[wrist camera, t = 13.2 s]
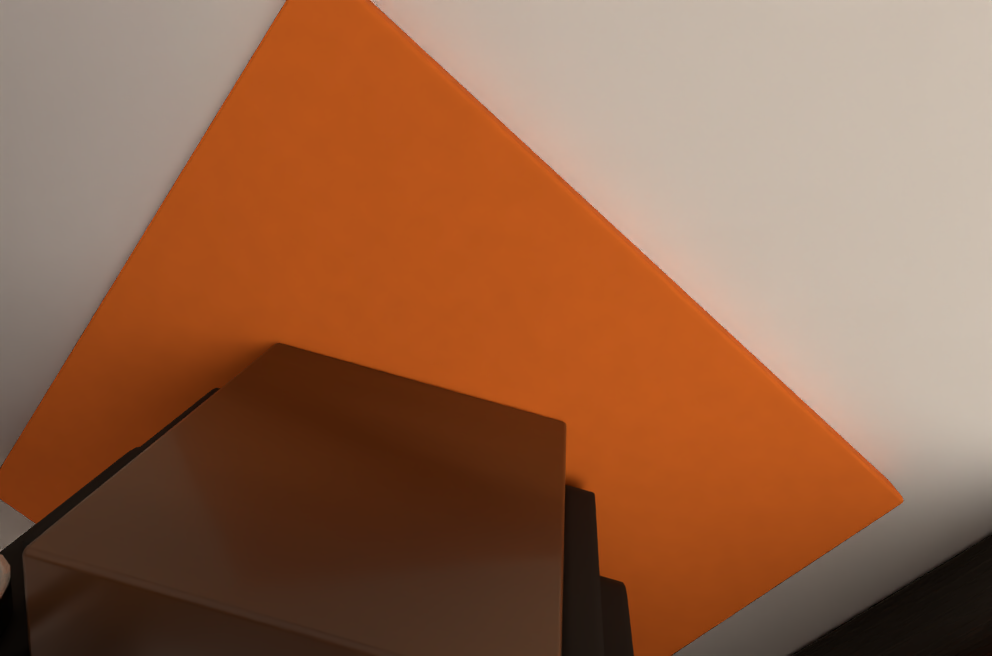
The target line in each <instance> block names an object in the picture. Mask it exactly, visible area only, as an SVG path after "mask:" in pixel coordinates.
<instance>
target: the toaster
mask: <svg viewBox="0 0 992 656" xmlns="http://www.w3.org/2000/svg"><path fill="white" fill-rule="evenodd" d="M792 656H992V535H991V536H989V537H987V538H986V539H984V540H982V541H981V542H979V543H977V544H976V545H974V546H972V547H971V548H969V549H967V550H966V551H964V552H962V553H961V554H959V555H958V556H956V557H954V558H953V559H951V560H949V561H948V562H946V563H944V564H943V565H941V566H939V567H938V568H936V569H934V570H933V571H931V572H929V573H928V574H926V575H924V576H923V577H921V578H920V579H918V580H916V581H915V582H913V583H911V584H910V585H908V586H906V587H905V588H903V589H901V590H900V591H898V592H896V593H895V594H893V595H891V596H890V597H888V598H886V599H885V600H883V601H882V602H880V603H878V604H877V605H875V606H873V607H872V608H870V609H868V610H867V611H865V612H863V613H862V614H860V615H858V616H857V617H855V618H853V619H852V620H850V621H848V622H847V623H845V624H844V625H842V626H840V627H839V628H837V629H835V630H834V631H832V632H830V633H829V634H827V635H825V636H824V637H822V638H820V639H819V640H817V641H815V642H814V643H812V644H810V645H809V646H807V647H806V648H804V649H802V650H801V651H799V652H797V653H796V654H794V655H792Z"/></svg>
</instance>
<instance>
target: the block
mask: <svg viewBox="0 0 992 656" xmlns="http://www.w3.org/2000/svg"><path fill="white" fill-rule="evenodd" d="M565 472H566V423H565V422H563V421H559V420H556V419H552V418H548V417H545V416H541V415H538V414H534V413H530V412H527V411H523V410H520V409H516V408H512V407H509V406H505V405H502V404H498V403H494V402H491V401H487V400H484V399H480V398H476V397H473V396H469V395H466V394H462V393H458V392H455V391H451V390H448V389H444V388H440V387H437V386H433V385H430V384H426V383H422V382H419V381H415V380H412V379H408V378H404V377H401V376H397V375H393V374H390V373H386V372H383V371H379V370H375V369H372V368H368V367H365V366H361V365H357V364H354V363H350V362H347V361H343V360H339V359H336V358H332V357H329V356H325V355H321V354H318V353H314V352H311V351H307V350H303V349H300V348H296V347H293V346H289V345H285V344H282V343H276V344H274V345H273V346H272V347H271V348H269V349H268V350H267V351H266V352H265V353H263V354H262V355H261V356H260V357H258V358H257V359H256V360H255V361H253V362H252V363H251V364H250V365H249V366H247V367H246V368H245V369H244V370H242V371H241V372H240V373H239V374H237V375H236V376H235V377H234V378H233V379H231V380H230V381H229V382H228V383H226V384H225V385H224V386H223V387H222V388H220V389H219V390H218V391H217V392H215V393H214V394H213V395H212V396H210V397H209V398H208V399H207V400H206V401H204V402H203V403H202V404H201V405H199V406H198V407H197V408H196V409H194V410H193V411H192V412H191V413H190V414H188V415H187V416H186V417H185V418H183V419H182V420H181V421H180V422H179V423H177V424H176V425H175V426H174V427H172V428H171V429H170V430H169V431H167V432H166V433H165V434H164V435H163V436H161V437H160V438H159V439H158V440H156V441H155V442H154V443H153V444H151V445H150V446H149V447H148V448H147V449H145V450H144V451H143V452H142V453H140V454H139V455H138V456H137V457H136V458H134V459H133V460H132V461H131V462H129V463H128V464H127V465H126V466H124V467H123V468H122V469H121V470H120V471H118V472H117V473H116V474H115V475H113V476H112V477H111V478H110V479H108V480H107V481H106V482H105V483H104V484H102V485H101V486H100V487H99V488H97V489H96V490H95V491H94V492H93V493H91V494H90V495H89V496H88V497H86V498H85V499H84V500H83V501H81V502H80V503H79V504H78V505H77V506H75V507H74V508H73V509H72V510H70V511H69V512H68V513H67V514H65V515H64V516H63V517H62V518H61V519H59V520H58V521H57V522H56V523H54V524H53V525H52V526H51V527H50V528H48V529H47V530H46V531H45V532H43V533H42V534H41V535H40V536H38V537H37V538H36V539H35V540H34V541H32V542H31V543H30V544H29V545H27V546H26V548H25V549H24V551H23V553H22V560H23V573H24V587H25V600H26V614H27V628H28V641H29V655H30V656H562V614H563V566H564V519H565Z"/></svg>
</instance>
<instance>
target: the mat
mask: <svg viewBox="0 0 992 656" xmlns="http://www.w3.org/2000/svg"><path fill="white" fill-rule="evenodd" d="M276 343H282V344H285V345H289V346H293V347H296V348H300V349H303V350H307V351H311V352H314V353H318V354H321V355H325V356H329V357H332V358H336V359H339V360H343V361H347V362H350V363H354V364H357V365H361V366H365V367H368V368H372V369H375V370H379V371H383V372H386V373H390V374H393V375H397V376H401V377H404V378H408V379H412V380H415V381H419V382H422V383H426V384H430V385H433V386H437V387H440V388H444V389H448V390H451V391H455V392H458V393H462V394H466V395H469V396H473V397H476V398H480V399H484V400H487V401H491V402H494V403H498V404H502V405H505V406H509V407H512V408H516V409H520V410H523V411H527V412H530V413H534V414H538V415H541V416H545V417H548V418H552V419H556V420H559V421H563V422H565V423H566V472H565V485H569V486H573V487H576V488H580V489H583V490H587V491H591V492H593V493H594V494H595V503H596V520H597V537H598V554H599V571H600V576H603V577H607V578H610V579H614V580H617V581H621V582H623V583H624V585H625V586H626V591H627V598H628V607H629V615H630V624H631V633H632V642H633V651H634V656H671V655H673V654H674V653H676V652H677V651H679V650H680V649H682V648H683V647H685V646H687V645H688V644H690V643H691V642H693V641H694V640H696V639H697V638H699V637H700V636H702V635H703V634H705V633H706V632H708V631H709V630H711V629H712V628H714V627H715V626H717V625H718V624H720V623H721V622H723V621H724V620H726V619H727V618H729V617H730V616H732V615H733V614H735V613H736V612H738V611H739V610H741V609H743V608H744V607H746V606H747V605H749V604H750V603H752V602H753V601H755V600H756V599H758V598H759V597H761V596H762V595H764V594H765V593H767V592H768V591H770V590H771V589H773V588H774V587H776V586H777V585H779V584H780V583H782V582H783V581H785V580H786V579H788V578H789V577H791V576H792V575H794V574H795V573H797V572H798V571H800V570H802V569H803V568H805V567H806V566H808V565H809V564H811V563H812V562H814V561H815V560H817V559H818V558H820V557H821V556H823V555H824V554H826V553H827V552H829V551H830V550H832V549H833V548H835V547H836V546H838V545H839V544H841V543H842V542H844V541H845V540H847V539H848V538H850V537H851V536H853V535H854V534H856V533H858V532H859V531H861V530H862V529H864V528H865V527H867V526H868V525H870V524H871V523H873V522H874V521H876V520H877V519H879V518H880V517H882V516H883V515H885V514H886V513H888V512H889V511H891V510H892V509H894V508H895V507H897V506H898V505H900V504H901V503H902V502H903V498H902V496H901V495H900V493H899V492H898V491H897V490H896V489H895V487H894V486H893V485H892V484H891V483H890V481H889V480H888V479H887V478H886V477H884V476H883V475H882V474H881V473H880V472H879V471H878V470H877V469H876V468H875V467H874V466H873V465H872V464H870V463H869V462H868V461H867V460H866V459H865V458H864V457H863V456H862V455H861V454H860V453H859V452H857V451H856V450H855V449H854V448H853V447H852V446H851V445H850V444H849V443H848V442H847V441H846V440H844V439H843V438H842V437H841V436H840V435H839V434H838V433H837V432H836V431H835V430H834V429H833V428H832V427H830V426H829V425H828V424H827V423H826V422H825V421H824V420H823V419H822V418H821V417H820V416H819V415H817V414H816V413H815V412H814V411H813V410H812V409H811V408H810V407H809V406H808V405H807V404H806V403H804V402H803V401H802V400H801V399H800V398H799V397H798V396H797V395H796V394H795V393H794V392H793V391H792V390H790V389H789V388H788V387H787V386H786V385H785V384H784V383H783V382H782V381H781V380H780V379H779V378H777V377H776V376H775V375H774V374H773V373H772V372H771V371H770V370H769V369H768V368H767V367H766V366H764V365H763V364H762V363H761V362H760V361H759V360H758V359H757V358H756V357H755V356H754V355H753V354H752V353H750V352H749V351H748V350H747V349H746V348H745V347H744V346H743V345H742V344H741V343H740V342H739V341H737V340H736V339H735V338H734V337H733V336H732V335H731V334H730V333H729V332H728V331H727V330H726V329H724V328H723V327H722V326H721V325H720V324H719V323H718V322H717V321H716V320H715V319H714V318H713V317H712V316H710V315H709V314H708V313H707V312H706V311H705V310H704V309H703V308H702V307H701V306H700V305H699V304H697V303H696V302H695V301H694V300H693V299H692V298H691V297H690V296H689V295H688V294H687V293H686V292H684V291H683V290H682V289H681V288H680V287H679V286H678V285H677V284H676V283H675V282H674V281H673V280H672V279H670V278H669V277H668V276H667V275H666V274H665V273H664V272H663V271H662V270H661V269H660V268H659V267H657V266H656V265H655V264H654V263H653V262H652V261H651V260H650V259H649V258H648V257H647V256H646V255H645V254H643V253H642V252H641V251H640V250H639V249H638V248H637V247H636V246H635V245H634V244H633V243H632V242H630V241H629V240H628V239H627V238H626V237H625V236H624V235H623V234H622V233H621V232H620V231H619V230H617V229H616V228H615V227H614V226H613V225H612V224H611V223H610V222H609V221H608V220H607V219H606V218H605V217H603V216H602V215H601V214H600V213H599V212H598V211H597V210H596V209H595V208H594V207H593V206H592V205H590V204H589V203H588V202H587V201H586V200H585V199H584V198H583V197H582V196H581V195H580V194H579V193H577V192H576V191H575V190H574V189H573V188H572V187H571V186H570V185H569V184H568V183H567V182H566V181H565V180H563V179H562V178H561V177H560V176H559V175H558V174H557V173H556V172H555V171H554V170H553V169H552V168H550V167H549V166H548V165H547V164H546V163H545V162H544V161H543V160H542V159H541V158H540V157H539V156H537V155H536V154H535V153H534V152H533V151H532V150H531V149H530V148H529V147H528V146H527V145H526V144H525V143H523V142H522V141H521V140H520V139H519V138H518V137H517V136H516V135H515V134H514V133H513V132H512V131H510V130H509V129H508V128H507V127H506V126H505V125H504V124H503V123H502V122H501V121H500V120H499V119H497V118H496V117H495V116H494V115H493V114H492V113H491V112H490V111H489V110H488V109H487V108H486V107H485V106H483V105H482V104H481V103H480V102H479V101H478V100H477V99H476V98H475V97H474V96H473V95H472V94H470V93H469V92H468V91H467V90H466V89H465V88H464V87H463V86H462V85H461V84H460V83H459V82H457V81H456V80H455V79H454V78H453V77H452V76H451V75H450V74H449V73H448V72H447V71H446V70H445V69H443V68H442V67H441V66H440V65H439V64H438V63H437V62H436V61H435V60H434V59H433V58H432V57H430V56H429V55H428V54H427V53H426V52H425V51H424V50H423V49H422V48H421V47H420V46H419V45H418V44H416V43H415V42H414V41H413V40H412V39H411V38H410V37H409V36H408V35H407V34H406V33H405V32H403V31H402V30H401V29H400V28H399V27H398V26H397V25H396V24H395V23H394V22H393V21H392V20H390V19H389V18H388V17H387V16H386V15H385V14H384V13H383V12H382V11H381V10H380V9H379V8H378V7H376V6H375V5H374V4H373V3H372V2H371V1H370V0H286V2H285V4H284V5H283V7H282V8H281V10H280V12H279V13H278V15H277V17H276V18H275V20H274V22H273V23H272V25H271V26H270V28H269V30H268V31H267V33H266V35H265V36H264V38H263V39H262V41H261V43H260V44H259V46H258V48H257V49H256V51H255V53H254V54H253V56H252V57H251V59H250V61H249V62H248V64H247V66H246V67H245V69H244V71H243V72H242V74H241V75H240V77H239V79H238V80H237V82H236V84H235V85H234V87H233V89H232V90H231V92H230V93H229V95H228V97H227V98H226V100H225V102H224V103H223V105H222V106H221V108H220V110H219V111H218V113H217V115H216V116H215V118H214V120H213V121H212V123H211V124H210V126H209V128H208V129H207V131H206V133H205V134H204V136H203V138H202V139H201V141H200V142H199V144H198V146H197V147H196V149H195V151H194V152H193V154H192V156H191V157H190V159H189V160H188V162H187V164H186V165H185V167H184V169H183V170H182V172H181V173H180V175H179V177H178V178H177V180H176V182H175V183H174V185H173V187H172V188H171V190H170V191H169V193H168V195H167V196H166V198H165V200H164V201H163V203H162V205H161V206H160V208H159V209H158V211H157V213H156V214H155V216H154V218H153V219H152V221H151V223H150V224H149V226H148V227H147V229H146V231H145V232H144V234H143V236H142V237H141V239H140V240H139V242H138V244H137V245H136V247H135V249H134V250H133V252H132V254H131V255H130V257H129V258H128V260H127V262H126V263H125V265H124V267H123V268H122V270H121V272H120V273H119V275H118V276H117V278H116V280H115V281H114V283H113V285H112V286H111V288H110V290H109V291H108V293H107V294H106V296H105V298H104V299H103V301H102V303H101V304H100V306H99V308H98V309H97V311H96V312H95V314H94V316H93V317H92V319H91V321H90V322H89V324H88V325H87V327H86V329H85V330H84V332H83V334H82V335H81V337H80V339H79V340H78V342H77V343H76V345H75V347H74V348H73V350H72V352H71V353H70V355H69V357H68V358H67V360H66V361H65V363H64V365H63V366H62V368H61V370H60V371H59V373H58V375H57V376H56V378H55V379H54V381H53V383H52V384H51V386H50V388H49V389H48V391H47V392H46V394H45V396H44V397H43V399H42V401H41V402H40V404H39V406H38V407H37V409H36V410H35V412H34V414H33V415H32V417H31V419H30V420H29V422H28V424H27V425H26V427H25V428H24V430H23V432H22V433H21V435H20V437H19V438H18V440H17V442H16V443H15V445H14V446H13V448H12V450H11V451H10V453H9V455H8V456H7V458H6V459H5V461H4V463H3V464H2V466H1V468H0V499H1V500H2V501H4V502H5V503H7V504H8V505H10V506H11V507H13V508H14V509H15V510H17V511H18V512H20V513H21V514H23V515H24V516H26V517H27V518H28V519H30V520H31V521H33V522H34V523H36V524H37V523H38V522H39V521H40V520H42V519H43V518H44V517H46V516H47V515H48V514H49V513H51V512H52V511H53V510H55V509H56V508H57V507H58V506H60V505H61V504H62V503H63V502H65V501H66V500H67V499H69V498H70V497H71V496H72V495H74V494H75V493H76V492H77V491H79V490H80V489H81V488H83V487H84V486H85V485H86V484H88V483H89V482H90V481H91V480H93V479H94V478H95V477H97V476H98V475H99V474H100V473H102V472H103V471H104V470H106V469H107V468H108V467H109V466H111V465H112V464H113V463H114V462H116V461H117V460H118V459H120V458H121V457H122V456H123V455H125V454H126V453H127V452H129V451H130V450H132V449H134V448H136V447H140V446H142V445H143V444H144V443H145V442H147V441H148V440H149V439H150V438H152V437H153V436H154V435H155V434H157V433H158V432H159V431H160V430H162V429H163V428H164V427H165V426H167V425H168V424H169V423H171V422H172V421H173V420H174V419H176V418H177V417H178V416H179V415H181V414H182V413H183V412H184V411H186V410H187V409H188V408H189V407H191V406H192V405H193V404H194V403H196V402H197V401H198V400H199V399H201V398H202V397H203V396H205V395H206V394H207V393H208V392H210V391H211V390H212V389H214V388H222V387H223V386H224V385H225V384H226V383H228V382H229V381H230V380H231V379H233V378H234V377H235V376H236V375H237V374H239V373H240V372H241V371H242V370H244V369H245V368H246V367H247V366H249V365H250V364H251V363H252V362H253V361H255V360H256V359H257V358H258V357H260V356H261V355H262V354H263V353H265V352H266V351H267V350H268V349H269V348H271V347H272V346H273V345H274V344H276Z"/></svg>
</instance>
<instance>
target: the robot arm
mask: <svg viewBox="0 0 992 656" xmlns="http://www.w3.org/2000/svg"><path fill="white" fill-rule="evenodd" d="M219 389H220V388H214V389H212V390H211V391H210V392H208V393H207V394H206V395H205V396H203V397H202V398H201V399H199V400H198V401H197V402H196V403H194V404H193V405H192V406H191V407H189V408H188V409H187V410H186V411H184V412H183V413H182V414H181V415H179V416H178V417H177V418H176V419H174V420H173V421H172V422H171V423H169V424H168V425H167V426H165V427H164V428H163V429H162V430H160V431H159V432H158V433H157V434H155V435H154V436H153V437H152V438H150V439H149V440H148V441H147V442H145V443H144V444H143V445H142V446H140V447H136V448H134V449H132V450H130V451H129V452H127V453H126V454H125V455H123V456H122V457H121V458H120V459H118V460H117V461H116V462H114V463H113V464H112V465H111V466H109V467H108V468H107V469H106V470H104V471H103V472H102V473H100V474H99V475H98V476H97V477H95V478H94V479H93V480H91V481H90V482H89V483H88V484H86V485H85V486H84V487H83V488H81V489H80V490H79V491H77V492H76V493H75V494H74V495H72V496H71V497H70V498H69V499H67V500H66V501H65V502H63V503H62V504H61V505H60V506H58V507H57V508H56V509H55V510H53V511H52V512H51V513H49V514H48V515H47V516H46V517H44V518H43V519H42V520H40V521H39V522H38V523H37V524H35V525H34V526H33V527H32V528H30V529H29V530H28V531H26V532H25V533H24V534H23V535H21V536H20V537H19V538H18V539H16V540H15V541H14V542H12V543H11V544H10V545H9V546H7V547H6V548H5V549H4V550H2V551H1V552H0V656H30V655H29V641H28V628H27V614H26V600H25V587H24V573H23V560H22V553H23V551H24V549H25V548H26V546H27V545H29V544H30V543H31V542H32V541H34V540H35V539H36V538H37V537H38V536H40V535H41V534H42V533H43V532H45V531H46V530H47V529H48V528H50V527H51V526H52V525H53V524H54V523H56V522H57V521H58V520H59V519H61V518H62V517H63V516H64V515H65V514H67V513H68V512H69V511H70V510H72V509H73V508H74V507H75V506H77V505H78V504H79V503H80V502H81V501H83V500H84V499H85V498H86V497H88V496H89V495H90V494H91V493H93V492H94V491H95V490H96V489H97V488H99V487H100V486H101V485H102V484H104V483H105V482H106V481H107V480H108V479H110V478H111V477H112V476H113V475H115V474H116V473H117V472H118V471H120V470H121V469H122V468H123V467H124V466H126V465H127V464H128V463H129V462H131V461H132V460H133V459H134V458H136V457H137V456H138V455H139V454H140V453H142V452H143V451H144V450H145V449H147V448H148V447H149V446H150V445H151V444H153V443H154V442H155V441H156V440H158V439H159V438H160V437H161V436H163V435H164V434H165V433H166V432H167V431H169V430H170V429H171V428H172V427H174V426H175V425H176V424H177V423H179V422H180V421H181V420H182V419H183V418H185V417H186V416H187V415H188V414H190V413H191V412H192V411H193V410H194V409H196V408H197V407H198V406H199V405H201V404H202V403H203V402H204V401H206V400H207V399H208V398H209V397H210V396H212V395H213V394H214V393H215V392H217V391H218V390H219ZM562 656H634V651H633V642H632V633H631V624H630V615H629V607H628V598H627V591H626V586H625V585H624V583H623V582H621V581H617V580H614V579H610V578H607V577H603V576H600V571H599V554H598V537H597V520H596V503H595V494H594V493H593V492H591V491H587V490H583V489H580V488H576V487H573V486H569V485H565V519H564V566H563V614H562Z"/></svg>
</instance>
